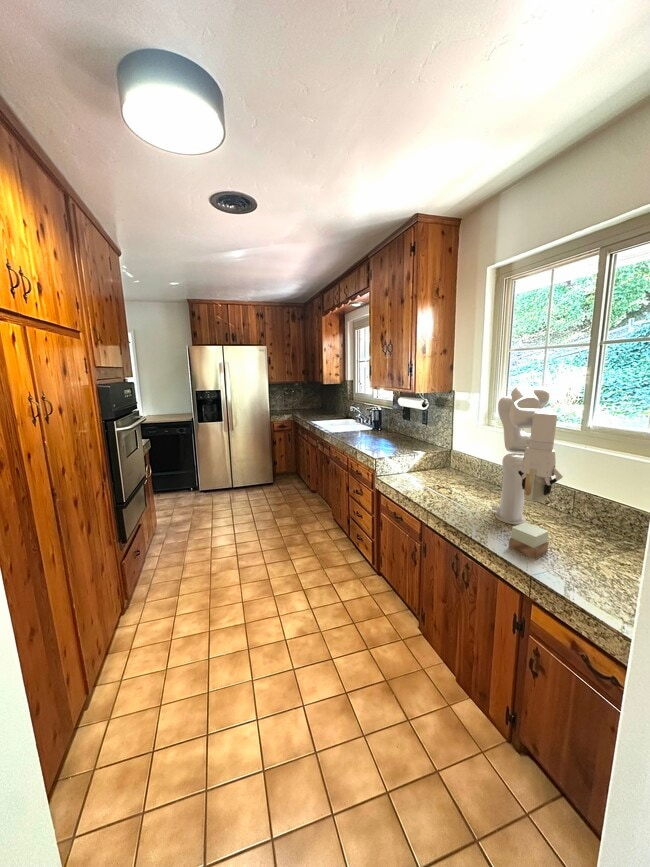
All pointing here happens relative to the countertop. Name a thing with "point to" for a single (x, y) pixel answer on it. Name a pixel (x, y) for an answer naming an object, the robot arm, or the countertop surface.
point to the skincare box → (534, 487)
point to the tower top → (529, 534)
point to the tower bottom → (528, 549)
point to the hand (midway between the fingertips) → (535, 491)
